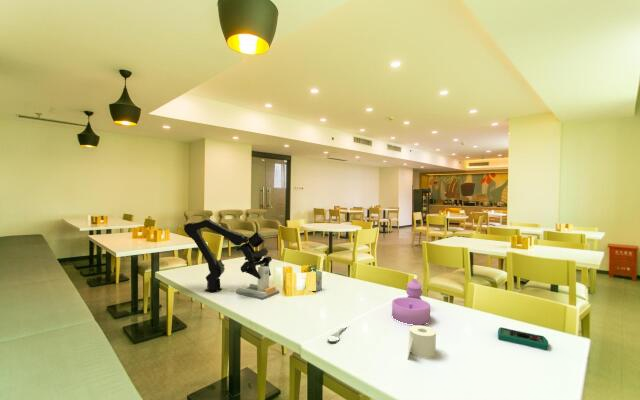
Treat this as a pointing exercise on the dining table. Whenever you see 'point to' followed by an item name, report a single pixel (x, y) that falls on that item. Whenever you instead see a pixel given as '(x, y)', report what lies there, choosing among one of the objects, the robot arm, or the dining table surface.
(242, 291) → the rail mount
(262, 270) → the rail module
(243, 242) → the robot arm
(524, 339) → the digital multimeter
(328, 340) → the spoon
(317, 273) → the ink box
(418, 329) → the toilet paper
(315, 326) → the dining table surface
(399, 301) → the container set
